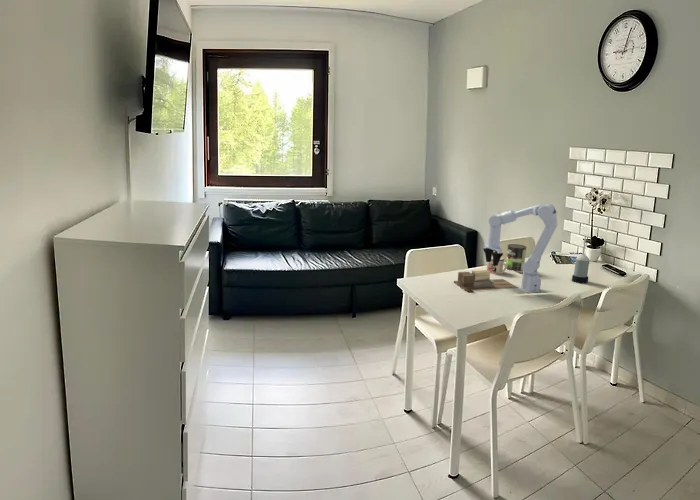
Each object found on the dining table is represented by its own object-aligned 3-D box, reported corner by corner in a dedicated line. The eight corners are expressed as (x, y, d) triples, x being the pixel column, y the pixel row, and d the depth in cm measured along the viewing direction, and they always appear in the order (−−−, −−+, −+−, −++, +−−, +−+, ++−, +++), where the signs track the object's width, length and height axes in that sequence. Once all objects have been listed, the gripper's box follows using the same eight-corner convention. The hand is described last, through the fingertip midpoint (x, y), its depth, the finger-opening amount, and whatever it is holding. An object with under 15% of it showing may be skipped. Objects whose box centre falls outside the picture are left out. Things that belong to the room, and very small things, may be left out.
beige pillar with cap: (488, 285, 276) (490, 272, 274) (473, 286, 274) (474, 272, 272) (485, 283, 280) (486, 270, 278) (470, 283, 278) (471, 270, 276)
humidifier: (579, 278, 297) (585, 233, 292) (591, 282, 290) (597, 237, 284) (568, 279, 294) (573, 234, 289) (579, 284, 287) (585, 237, 281)
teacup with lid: (482, 272, 304) (484, 252, 301) (493, 270, 309) (495, 250, 306) (499, 277, 294) (501, 257, 292) (510, 275, 300) (512, 255, 297)
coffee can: (513, 273, 305) (516, 248, 302) (501, 268, 314) (503, 244, 311) (527, 271, 309) (530, 247, 306) (515, 267, 318) (517, 243, 315)
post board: (518, 289, 273) (519, 276, 272) (466, 292, 267) (468, 278, 266) (502, 280, 289) (504, 268, 287) (453, 282, 282) (454, 269, 281)
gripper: (480, 235, 284) (478, 260, 287) (493, 241, 270) (491, 267, 274) (493, 235, 286) (490, 260, 289) (506, 241, 272) (504, 267, 275)
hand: (491, 263), depth 281 cm, fingers open, 7 cm apart
